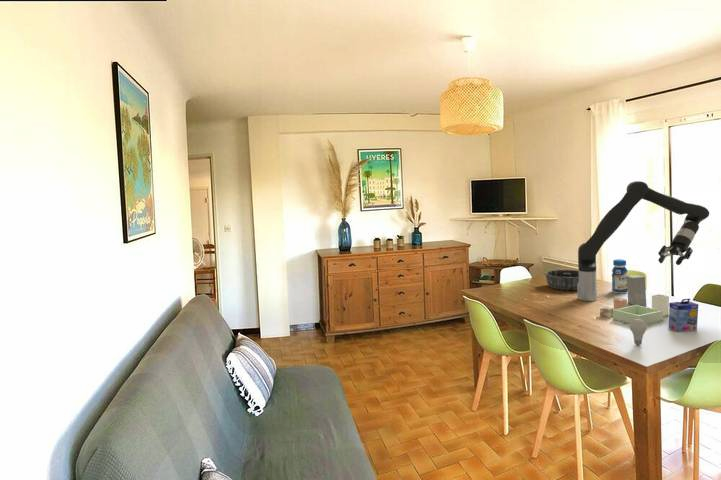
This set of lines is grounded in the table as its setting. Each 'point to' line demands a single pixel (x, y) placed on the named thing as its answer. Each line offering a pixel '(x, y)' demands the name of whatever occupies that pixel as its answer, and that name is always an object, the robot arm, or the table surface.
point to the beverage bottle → (619, 276)
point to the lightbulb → (638, 330)
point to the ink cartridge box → (683, 316)
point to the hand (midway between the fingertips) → (668, 263)
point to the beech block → (606, 312)
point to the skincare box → (636, 290)
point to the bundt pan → (563, 279)
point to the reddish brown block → (620, 303)
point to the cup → (661, 303)
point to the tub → (638, 314)
